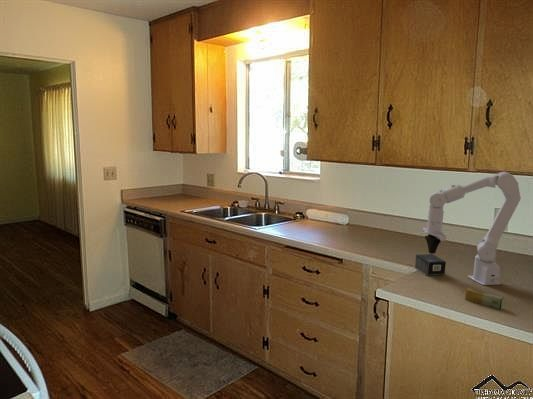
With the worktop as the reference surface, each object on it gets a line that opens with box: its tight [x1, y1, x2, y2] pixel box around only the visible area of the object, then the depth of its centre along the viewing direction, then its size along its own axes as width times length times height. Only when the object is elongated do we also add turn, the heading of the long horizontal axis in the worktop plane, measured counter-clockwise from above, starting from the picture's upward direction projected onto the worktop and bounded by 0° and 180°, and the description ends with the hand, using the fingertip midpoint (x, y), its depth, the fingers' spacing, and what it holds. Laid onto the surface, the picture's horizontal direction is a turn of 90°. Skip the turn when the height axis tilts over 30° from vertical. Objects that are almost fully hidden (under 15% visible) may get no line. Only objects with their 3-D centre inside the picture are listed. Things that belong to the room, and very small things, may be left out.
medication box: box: [464, 288, 505, 311], centre depth 146 cm, size 12×3×4 cm, turn 44°
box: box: [414, 253, 447, 276], centre depth 177 cm, size 8×6×11 cm
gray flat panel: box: [414, 266, 445, 276], centre depth 177 cm, size 9×8×1 cm
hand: (431, 253), depth 175 cm, fingers closed
